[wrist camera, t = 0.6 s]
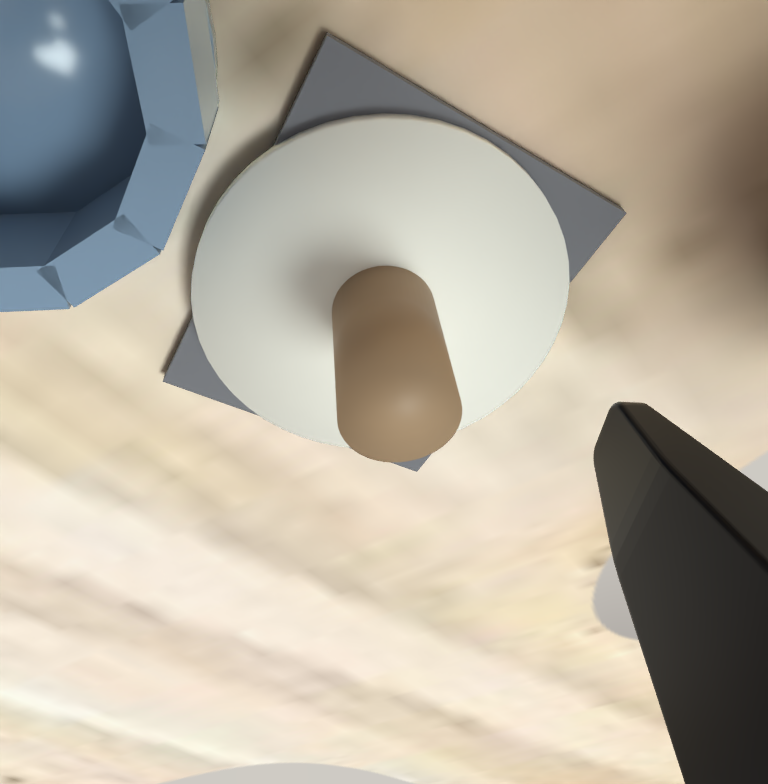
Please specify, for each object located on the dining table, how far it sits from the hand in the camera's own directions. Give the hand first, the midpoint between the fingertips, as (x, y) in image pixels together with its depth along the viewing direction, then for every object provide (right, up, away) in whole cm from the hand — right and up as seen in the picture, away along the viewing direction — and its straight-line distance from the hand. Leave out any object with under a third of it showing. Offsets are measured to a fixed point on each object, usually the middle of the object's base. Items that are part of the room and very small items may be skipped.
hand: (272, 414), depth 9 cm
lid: (+1, +3, +13) cm, 14 cm away
